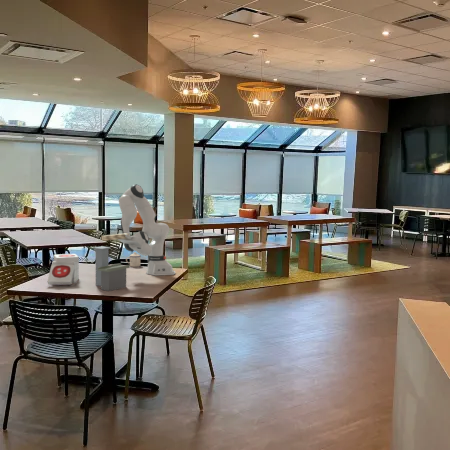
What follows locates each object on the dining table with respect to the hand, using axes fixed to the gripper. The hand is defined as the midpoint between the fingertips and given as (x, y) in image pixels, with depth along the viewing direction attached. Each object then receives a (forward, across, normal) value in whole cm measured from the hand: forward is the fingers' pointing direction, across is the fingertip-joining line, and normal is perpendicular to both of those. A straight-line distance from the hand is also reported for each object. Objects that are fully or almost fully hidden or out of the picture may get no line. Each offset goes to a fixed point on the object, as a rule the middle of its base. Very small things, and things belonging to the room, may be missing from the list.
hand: (122, 235), depth 344 cm
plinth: (-8, -9, +35) cm, 37 cm away
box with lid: (-6, +5, +36) cm, 37 cm away
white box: (+2, -34, +41) cm, 53 cm away
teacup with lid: (-66, -44, +3) cm, 79 cm away
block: (+5, 0, +5) cm, 7 cm away
